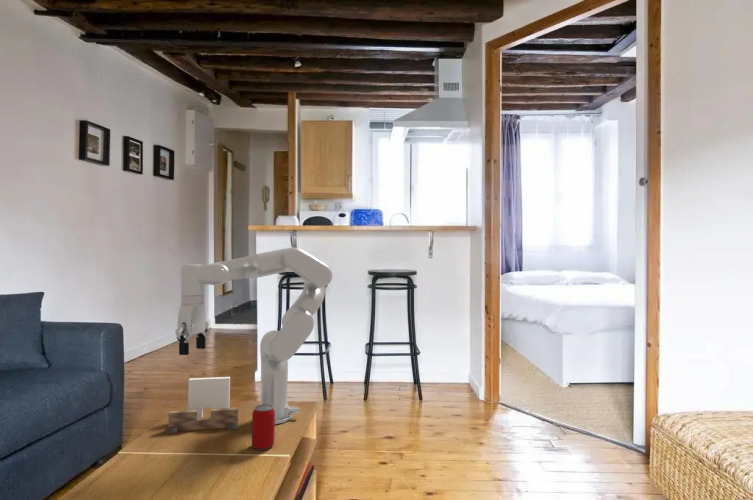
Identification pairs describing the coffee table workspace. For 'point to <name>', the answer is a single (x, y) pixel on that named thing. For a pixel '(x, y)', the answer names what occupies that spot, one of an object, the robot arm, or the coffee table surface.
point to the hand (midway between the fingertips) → (192, 351)
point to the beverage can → (263, 427)
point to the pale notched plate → (208, 393)
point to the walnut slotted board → (202, 420)
